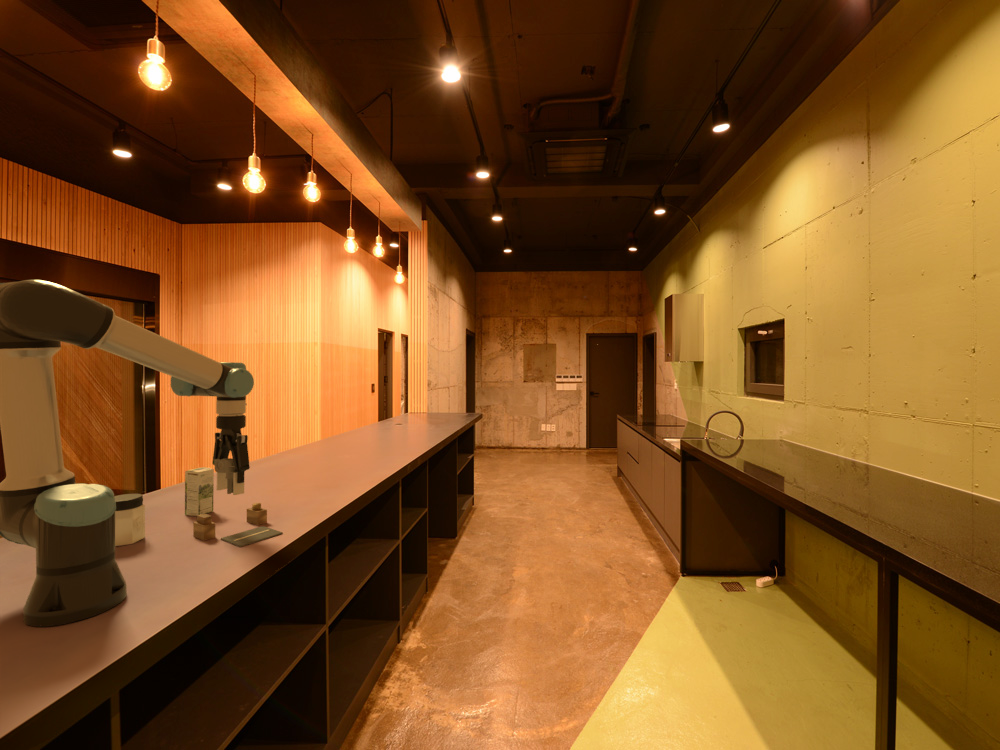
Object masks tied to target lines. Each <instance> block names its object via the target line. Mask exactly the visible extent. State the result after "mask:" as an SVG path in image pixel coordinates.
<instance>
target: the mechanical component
mask: <svg viewBox="0 0 1000 750" xmlns="http://www.w3.org/2000/svg"><path fill="white" fill-rule="evenodd" d="M212 462H213V461H212ZM213 463H214V465H213V466H214V471H215V472H216V473H217V472H218V473H226V477H225V478H226V479H227V489H226V494H227V495H230V494H233V476H234V473H233V471H234V470H235V466H234V462H233V458H229V457H228V458H223V459H221V460H220V459H215V460H214V462H213ZM245 466H246V465H245Z"/></svg>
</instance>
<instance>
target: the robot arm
mask: <svg viewBox="0 0 1000 750" xmlns="http://www.w3.org/2000/svg"><path fill="white" fill-rule="evenodd" d="M61 342H62V343H66V344H70V345H74V346H77V347H80V348H82V349H85V350H90V349H94V348H96V349H99V350H102V351H104V352H107V353H110V354H113V355H115V356H118V357H120V358H123V359H125V360H128V361H131V362H134V363H136V364H139V365H142V366H143V367H146V368H149V369H152V370H154V371H157V372H159V373H162V374H165V375H168V376H170V388H171V391H172V392H173V393H174V394H175V395H176V396H178V397H216V400H215V401H216V402H215V405H216V406H215V410H216V411H215V413H216V414H217V416H216V418H215V420H216V421H215V423H216V424H215V426H216V429H217V430H220V432H219V431H218V432H215V433H214V447H213V456H212V466H215V465H214V463H213V462H214V460H215V459H220V460H221V459H223V458H229V455H230V452H231V456H232V458H233V462H234V466H235V470H234V471H233V473H234V476H233V493H232V495H233V496H237V495H243V494H245V472H246V471H247V470H250V467H251V466H250V460H249V459H250V456H249V449H248V447H249V446H248V438H249V437H248V435H246V434H245V435H243V433H242V429H245V427H246V425H247V424H246V422H247V421H246V420H247V416H246V415H245V414H246V412H247V411H246V409H247V408H246V407H247V406H248V405H247V403H246V401H247V400H246V399H247V396H248V395H249V394H250V393H251V391H252V390H253V389H254V385H255V383H254V381H255V380H254V377H253V375H252V373H251V372H250V371H249V370H247V367H246V365H245V363H243V362H235V361H234V362H232V361H231V362H229V361H227V362H225V361H224V362H222V361H221V362H220V361H217V360H215V359H212V358H210V357H208V356H206V355H204V354H201V353H200V352H197V351H195V350H194V349H193V350H192V349H190V348H188V347H186V346H184V345H182V344H180V343H177V342H175V341H173V340H170V339H168V338H166V337H164V336H162V335H160V334H157V333H155V332H153V331H151V330H148V329H146V328H144V327H143V326H140V325H138V324H135V323H133V322H132V321H129V320H127V319H124V318H122V317H121V316H117V315H116V312H115V310H114V309H113V308H112V307H110V306H108V305H106V304H104V303H102V302H100V301H97V300H95V299H93V298H91V297H88V296H87V295H85V294H82V293H80V292H78V291H75V290H73V289H71V288H68V287H66V286H64V285H61V284H58V283H55V282H51V281H47V280H42V279H25V280H20V281H11V282H0V435H1V443H2V450H3V459H4V460H3V461H4V468H5V475H6V476H5V478H4V479H3V480H2V481H1V482H0V537H2V538H3V539H5V540H7V541H8V542H12V543H14V544H17V545H25V546H27V547H31V548H34V549H35V565H36V566H35V568H36V570H35V571H36V574H35V575H36V576H35V580H34V582H33V584H32V586H31V588H30V592H29V593H28V596H27V599H26V601H25V604H24V606H23V623H24V624H25V625H28V626H31V627H38V628H39V627H42V628H43V627H54V626H61V625H66V624H71V623H75V622H79V621H81V620H85V619H89V618H92V617H94V616H97V615H99V614H102V613H104V612H106V611H109V610H110V609H112V608H114V607H116V606H117V605H119V604H120V603H122V602H123V601H124V600H125V599H126V597H127V582H126V579H125V577H124V575H123V574H122V571H121V569H120V567H119V565H118V563H117V560H116V546H115V510H116V502H115V498H114V496H115V493H114V491H113V490H112V489H111V488H110V487H108V486H107V485H103V484H98V483H89V484H88V483H76V475H75V473H74V472H72V471H71V470H69V469H67V468H66V467H65V463H64V456H63V445H62V444H63V443H62V437H61V436H62V435H61V427H60V417H59V407H58V400H57V399H58V398H57V390H56V381H55V379H56V378H55V370H54V363H53V357H54V356H55V355H56V354H57V353H59V351H60V350H62V343H61ZM245 465H246V466H245ZM225 477H226V473H218V472H216V491H222V490H227V479H226V478H225Z"/></svg>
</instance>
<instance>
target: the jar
mask: <svg viewBox="0 0 1000 750" xmlns="http://www.w3.org/2000/svg"><path fill="white" fill-rule="evenodd" d="M143 497H144V496H143V494H141V493H126V494H119V495H114V498H115V502H116V510H115V547H121V546H127V545H133V544H135V543H137V542H139V541H140V540H143V539H145V538H146V522H145V520H146V517H145V516H146V513H145V512H146V511H145V509H146V508H145V507H146V505H145V504H144V498H143Z"/></svg>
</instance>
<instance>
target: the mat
mask: <svg viewBox="0 0 1000 750" xmlns="http://www.w3.org/2000/svg"><path fill="white" fill-rule="evenodd" d="M280 535H283V532H282V531H279V530H277V529H274V528H270V527H268V526H265V525H261V526H259V527H254V528H251V529H248V530H244V531H241V532H237V533H234V534H230V535H227V536H224V537H221V538H220V540H221V541H223V542H227V543H229V544H231V545H233V546H236V547H238V548H242V546H243V547H245V545H246V546H249V545H252V544H255V543H258V542H261V541H263V540H264V541H265V540H268V539H270V538H274V537H278V536H280ZM248 544H249V545H248Z"/></svg>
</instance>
